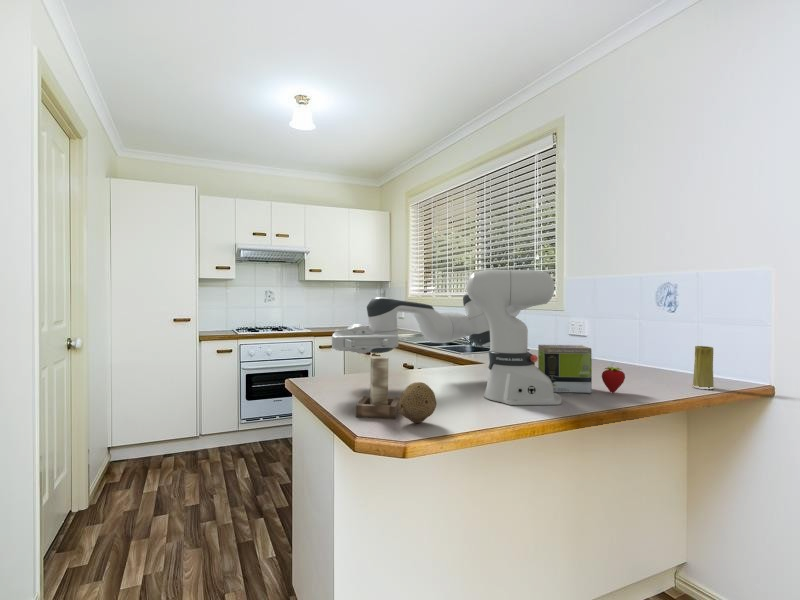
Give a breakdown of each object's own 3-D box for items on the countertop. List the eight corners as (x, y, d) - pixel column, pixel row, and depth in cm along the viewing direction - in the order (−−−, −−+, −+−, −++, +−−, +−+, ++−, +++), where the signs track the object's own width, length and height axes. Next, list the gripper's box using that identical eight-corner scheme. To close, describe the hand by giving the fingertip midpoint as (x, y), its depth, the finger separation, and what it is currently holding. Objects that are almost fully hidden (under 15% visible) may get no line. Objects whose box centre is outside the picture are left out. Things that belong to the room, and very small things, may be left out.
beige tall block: (384, 408, 121) (385, 356, 121) (387, 412, 117) (388, 358, 117) (370, 408, 120) (370, 356, 120) (372, 412, 116) (373, 358, 116)
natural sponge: (444, 425, 107) (445, 384, 107) (412, 431, 103) (413, 387, 103) (423, 416, 115) (424, 377, 115) (393, 421, 111) (393, 380, 111)
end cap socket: (399, 408, 123) (400, 397, 123) (395, 418, 113) (395, 406, 113) (363, 407, 124) (363, 396, 124) (356, 417, 114) (356, 405, 114)
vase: (718, 390, 152) (719, 348, 152) (699, 390, 152) (700, 347, 152) (706, 386, 158) (707, 345, 158) (688, 386, 158) (689, 345, 158)
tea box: (582, 387, 154) (583, 344, 154) (591, 394, 144) (592, 348, 144) (537, 386, 155) (538, 343, 155) (543, 392, 145) (544, 346, 145)
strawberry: (629, 394, 144) (630, 363, 144) (609, 395, 142) (609, 363, 142) (616, 390, 150) (617, 360, 150) (596, 391, 148) (597, 360, 148)
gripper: (393, 348, 146) (403, 354, 132) (329, 349, 141) (333, 355, 127) (393, 329, 145) (403, 332, 132) (329, 329, 141) (333, 333, 127)
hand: (368, 344), depth 130 cm, fingers open, 8 cm apart
